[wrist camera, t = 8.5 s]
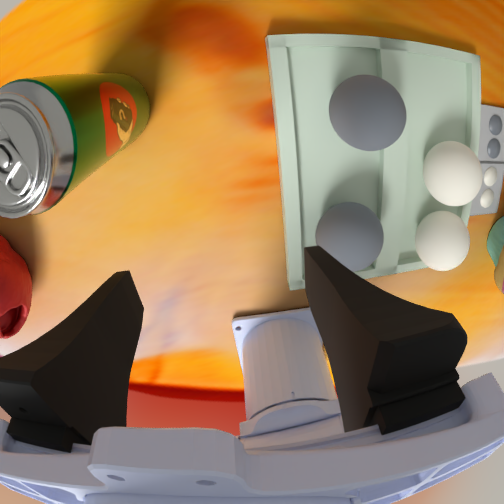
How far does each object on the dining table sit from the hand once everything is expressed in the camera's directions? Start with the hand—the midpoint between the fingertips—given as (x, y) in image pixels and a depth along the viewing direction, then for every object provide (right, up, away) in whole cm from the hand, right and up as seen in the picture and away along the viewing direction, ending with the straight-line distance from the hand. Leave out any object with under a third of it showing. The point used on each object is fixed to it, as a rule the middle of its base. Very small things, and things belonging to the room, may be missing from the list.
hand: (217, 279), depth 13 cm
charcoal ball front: (+7, +10, +5) cm, 13 cm away
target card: (+22, +9, +8) cm, 25 cm away
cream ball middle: (+15, +8, +7) cm, 19 cm away
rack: (+11, +7, +8) cm, 16 cm away
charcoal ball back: (+8, +3, +10) cm, 13 cm away
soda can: (-7, +10, +5) cm, 14 cm away
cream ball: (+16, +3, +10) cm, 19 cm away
